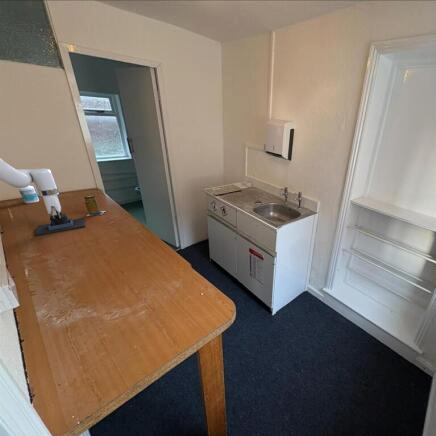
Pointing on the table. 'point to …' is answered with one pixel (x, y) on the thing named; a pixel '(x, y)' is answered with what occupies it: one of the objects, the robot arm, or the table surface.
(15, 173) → the robot arm
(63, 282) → the table surface
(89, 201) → the condiment
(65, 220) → the dark grey block
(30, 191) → the pill bottle
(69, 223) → the base pad
